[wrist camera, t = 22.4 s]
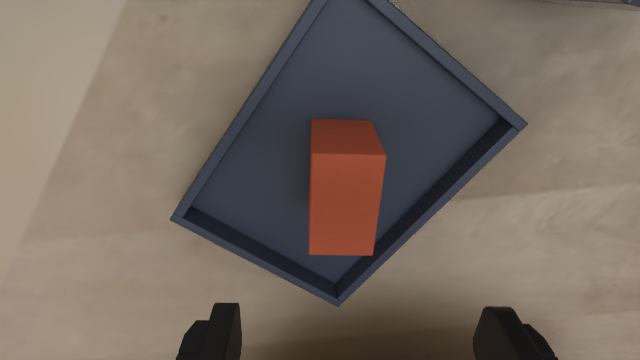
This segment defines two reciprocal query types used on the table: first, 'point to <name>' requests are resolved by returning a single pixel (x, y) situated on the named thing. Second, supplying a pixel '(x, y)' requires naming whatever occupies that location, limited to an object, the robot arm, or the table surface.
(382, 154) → the sponge
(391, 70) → the tray
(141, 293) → the table surface
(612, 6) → the crock
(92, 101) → the table surface
